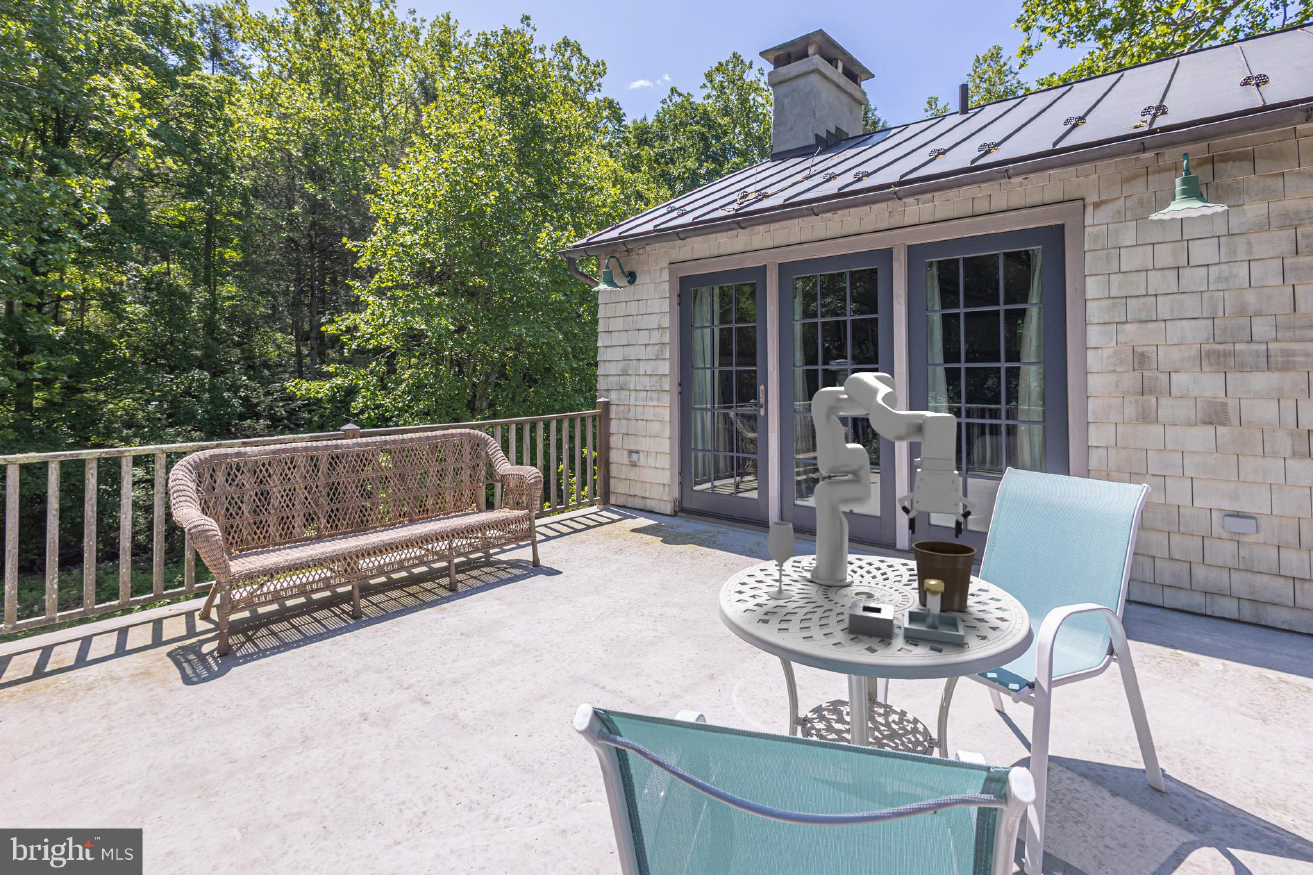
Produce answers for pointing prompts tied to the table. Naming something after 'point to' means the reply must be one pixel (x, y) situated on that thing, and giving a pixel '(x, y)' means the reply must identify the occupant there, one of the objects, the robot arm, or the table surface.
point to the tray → (946, 634)
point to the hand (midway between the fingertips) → (934, 535)
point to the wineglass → (781, 551)
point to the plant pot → (945, 571)
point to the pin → (933, 602)
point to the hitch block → (871, 619)
